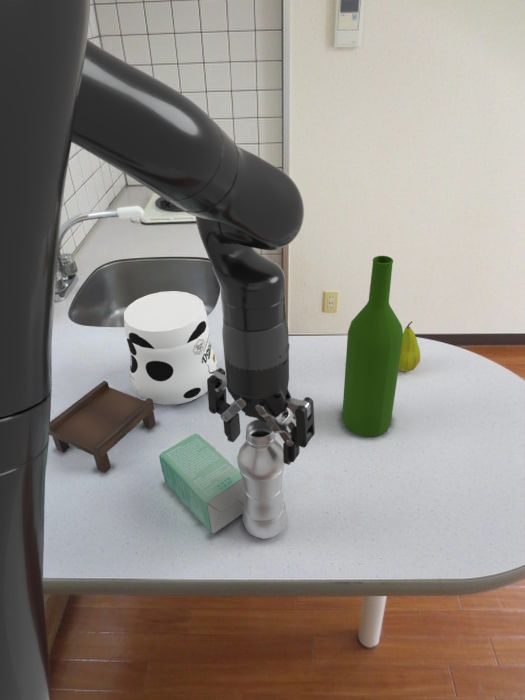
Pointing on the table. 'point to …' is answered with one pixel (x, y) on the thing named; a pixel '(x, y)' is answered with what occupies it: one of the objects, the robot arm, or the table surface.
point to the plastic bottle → (262, 481)
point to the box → (204, 482)
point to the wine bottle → (372, 358)
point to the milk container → (169, 347)
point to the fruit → (409, 351)
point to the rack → (100, 422)
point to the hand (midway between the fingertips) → (261, 448)
